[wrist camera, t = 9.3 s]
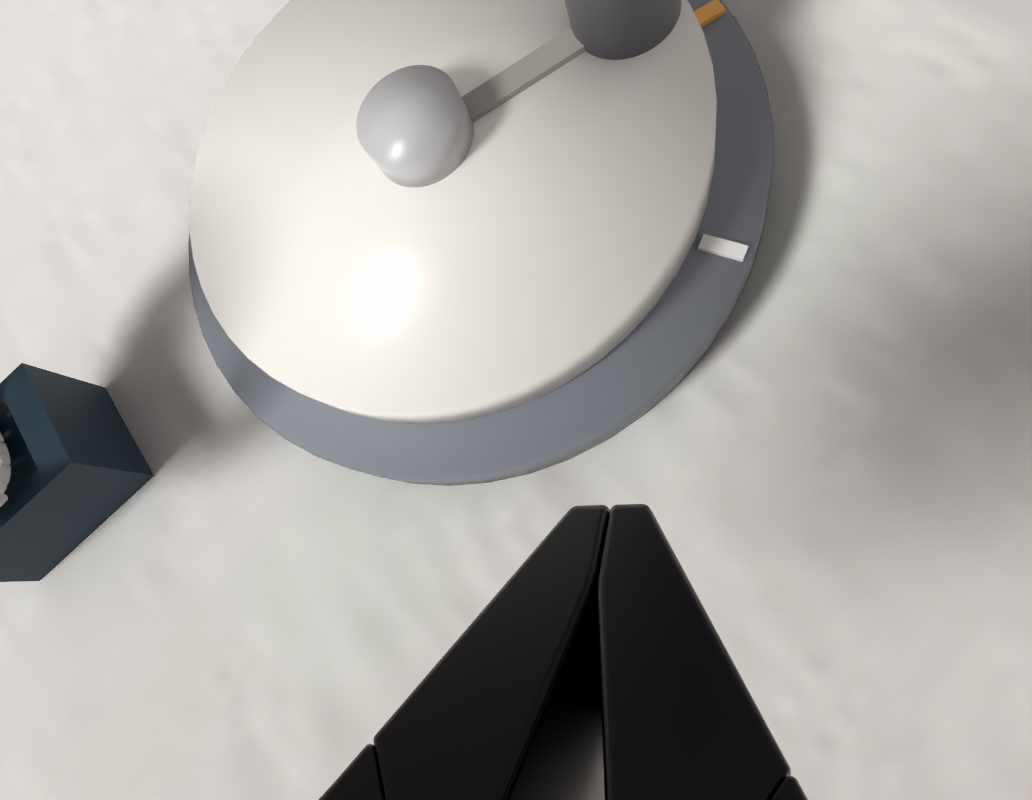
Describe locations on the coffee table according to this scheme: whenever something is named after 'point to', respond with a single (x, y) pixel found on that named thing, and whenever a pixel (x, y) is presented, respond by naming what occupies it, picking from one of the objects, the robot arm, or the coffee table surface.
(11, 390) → the watch
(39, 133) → the coffee table surface
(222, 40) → the coffee table surface
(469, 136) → the dial
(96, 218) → the coffee table surface
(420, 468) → the dial base
